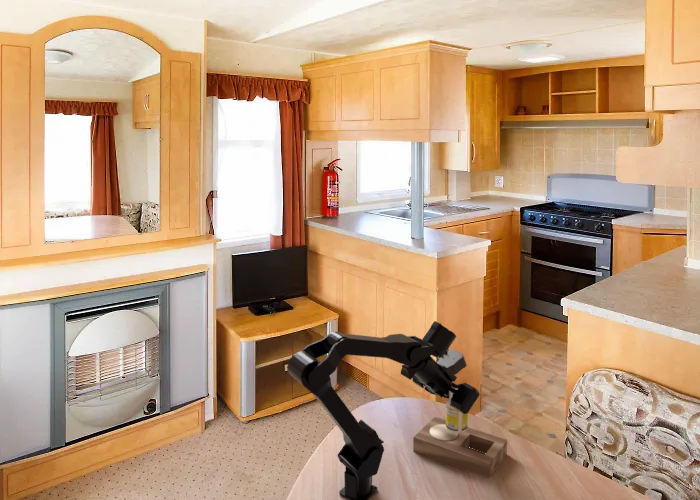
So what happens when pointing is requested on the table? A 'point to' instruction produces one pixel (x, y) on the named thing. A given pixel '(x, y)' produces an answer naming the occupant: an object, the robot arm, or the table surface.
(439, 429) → the pocket block
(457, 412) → the supplement bottle
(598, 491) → the table surface
